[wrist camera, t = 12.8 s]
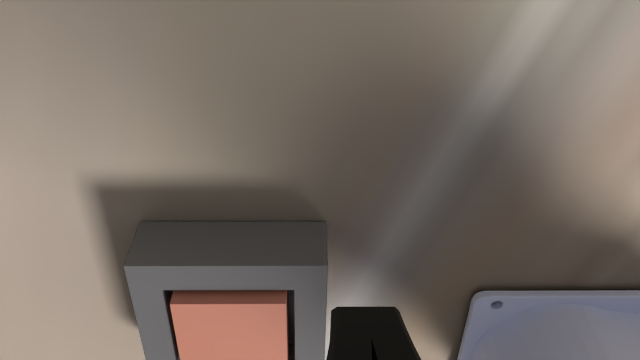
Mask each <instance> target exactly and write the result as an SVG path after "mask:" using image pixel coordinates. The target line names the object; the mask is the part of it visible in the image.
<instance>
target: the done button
mask: <svg viewBox="0 0 640 360" xmlns="http://www.w3.org/2000/svg"><path fill="white" fill-rule="evenodd" d="M170 308H171V313H172V319H173V324H174V329H175V335H176V340H177V346H178V351H179V356H180V360H288V290H173V294H172V298H171V302H170Z"/></svg>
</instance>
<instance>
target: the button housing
mask: <svg viewBox="0 0 640 360" xmlns="http://www.w3.org/2000/svg"><path fill="white" fill-rule="evenodd" d="M124 270H125V274H126V278H127V283H128V287H129V291H130V295H131V299H132V304H133V308H134V312H135V316H136V320H137V325H138V329H139V333H140V337H141V341H142V345H143V350H144V354H145V358H146V360H180V356H179V351H178V346H177V340H176V335H175V329H174V324H173V319H172V313H171V308H170V302H171V298H172V294H173V290H288V360H324V359H325V332H326V304H327V276H328V258H327V238H326V221H140V223H139V226H138V228H137V231H136V234H135V237H134V239H133V242H132V245H131V247H130V250H129V253H128V256H127V258H126V261H125V264H124Z"/></svg>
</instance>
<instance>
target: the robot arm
mask: <svg viewBox="0 0 640 360" xmlns="http://www.w3.org/2000/svg"><path fill="white" fill-rule="evenodd" d="M495 301H497V302H495ZM493 302H494V303H493ZM327 360H421V359H420V357H419V355H418V353H417V351H416V349H415V347H414V344H413V342H412V340H411V338H410V336H409V334H408V331H407V329H406V327H405V324H404V322H403V320H402V317H401V314H400V312H399V310H398V309H397V308H396V307H336V308H335V309H333V310H332V311H331V330H330V344H329V350H328V355H327ZM457 360H640V290H595V291H481V292H478V293H476V294H475V295H474V296H473V298H472V300H471V304H470V309H469V313H468V317H467V321H466V325H465V329H464V333H463V338H462V342H461V346H460V350H459V354H458V358H457Z"/></svg>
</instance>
